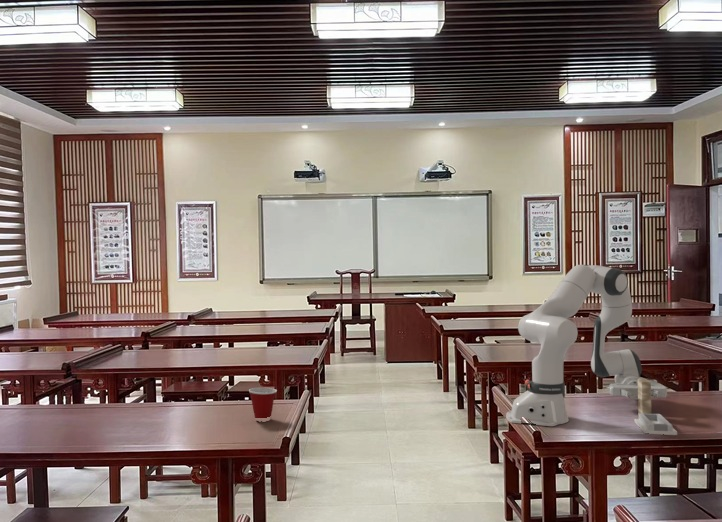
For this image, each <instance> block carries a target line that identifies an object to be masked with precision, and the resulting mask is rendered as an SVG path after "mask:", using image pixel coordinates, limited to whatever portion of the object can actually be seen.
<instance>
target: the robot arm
mask: <svg viewBox="0 0 722 522" xmlns="http://www.w3.org/2000/svg"><path fill="white" fill-rule="evenodd" d="M628 285H629V279H628V276H627V274H626V273H625V271H624V270H622V269H621V268H616V267H608V266H603V265H597V264H594V265H593V264H577V265H575V266H573V267H572V268H571V269H570V270H569V271H568V272H567V273H566V274H565V275H564V277H563V278H561V281H560V282H559V284H558V285H557V286H556V288H555V289H554V291H553V292H552V294H550V296H549V297H548V298H547V299H546V300H545V301H544V302H543V303H542V304H541V305H540V306H538V307H537V308H536V309H535V310H533V311H532V312H530V313H527V314H526V315H523V316H522V317H521V318H520V319H519V322H518V326H517V330H518V333H519V335H520V336H521V337H522V338H524V339H525V340H527V341H529V342H531V343H536V344H540V348H539V353H538V354H537V355H536V356H534V357H533V359H532V361H531V373H532V374H531V375H532V376H531V377H532V378H531V380H529V379H526V380H525V381H524V385H525V386H526V391H524V392H523V393H522V394H520V395H519V396H517V397H516V398H514V400H513V401H512V406H511V410H509V411H507V412H506V415H505V418H506V421H508V422H510V423H513V424H521V420H520V419H521V418H522V417H524V418H527V419H529V420H530V421H531V422H532V423H534V424H536V425H535V426H544V427H546V426H547V427H555V426H558V425H562V424H566V423H568V422H569V420H570V419H569V416H568V414H567V409H566V403H565V402H566V401H565V396H566V385H565V381H564V362H565V357H566V353H567V352H568V349H570V347H571V346H572V345H573V344H575V342H576V341H577V338H578V335H579V333H578V328H577V325H576V323H575V322H573V320H571V319H569V318H571V317H573V316H574V315H576V314H577V313H578V311H579V310H580V308H581V307H582V305H583V304H584V303H585V301H586V299H587V298H588V296H589V294H590V293H593V294H596V295H600V297H601V298H600V299H601V300H600V301H601V311H600V312H599V315H598V316H597V317H595V320H594V325H593V338H592V340H593V341H592V352H591V358H590V359H591V360H590V367H591V371H592V372H593V374H595V375H596V376H598V377H600V378H606V377H611V376H614V383H609V385H607V386H606V387H605V388H606V389H607V390H609V395H610V396H613V397H626V398H629V399H631V400H638V379H647V380H648V381H650V382H651V398H654V399H658V398H667V397H668V389H667V387H666V386H665V385H663V384H661V383H660V382H658V380H656V379H652V378H645V377H641V374H642V371H643V370H642V369H643V368H642V364H641V360H640V357H639V355H638V354H637V353H636V352H635V351H633V349H630V348H627V349H620V350H613V351H605V344H606V342H605V341H606V339H605V338H606V336H607V334H608V333H609V332H611V331H612V330H614V329H616V328H618V327H621V326H622V325H623V324H625V323H626V322H628V321H629V320H630V319H631V316H632V314H633V304H632V297H631V292H630V288H629V286H628Z"/></svg>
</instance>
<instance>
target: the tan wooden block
mask: <svg viewBox="0 0 722 522" xmlns="http://www.w3.org/2000/svg"><path fill="white" fill-rule="evenodd" d="M647 379H648V378H646V379H638V399H637V412H638V413H645V414H652V397H651V382H650V381H648V380H647ZM638 413H637V414H638Z"/></svg>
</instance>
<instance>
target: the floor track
mask: <svg viewBox="0 0 722 522" xmlns="http://www.w3.org/2000/svg"><path fill="white" fill-rule="evenodd" d="M637 415H638V418H634V419H633V421H634V424H636V425H637V427H638V428H639V427H640V428H639V429H640V430H641V431H642V432H643V433H644V434H645V433H649V434H648V435H663V434H664V436H665V435H668V436H678V431H677V430H676V429H675V428H674V427H673V424H672V423H670V422H669V421H668V420H667V418H665V417H664V416H663V415H662V414H660V413H651V414H645V413H637Z"/></svg>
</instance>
